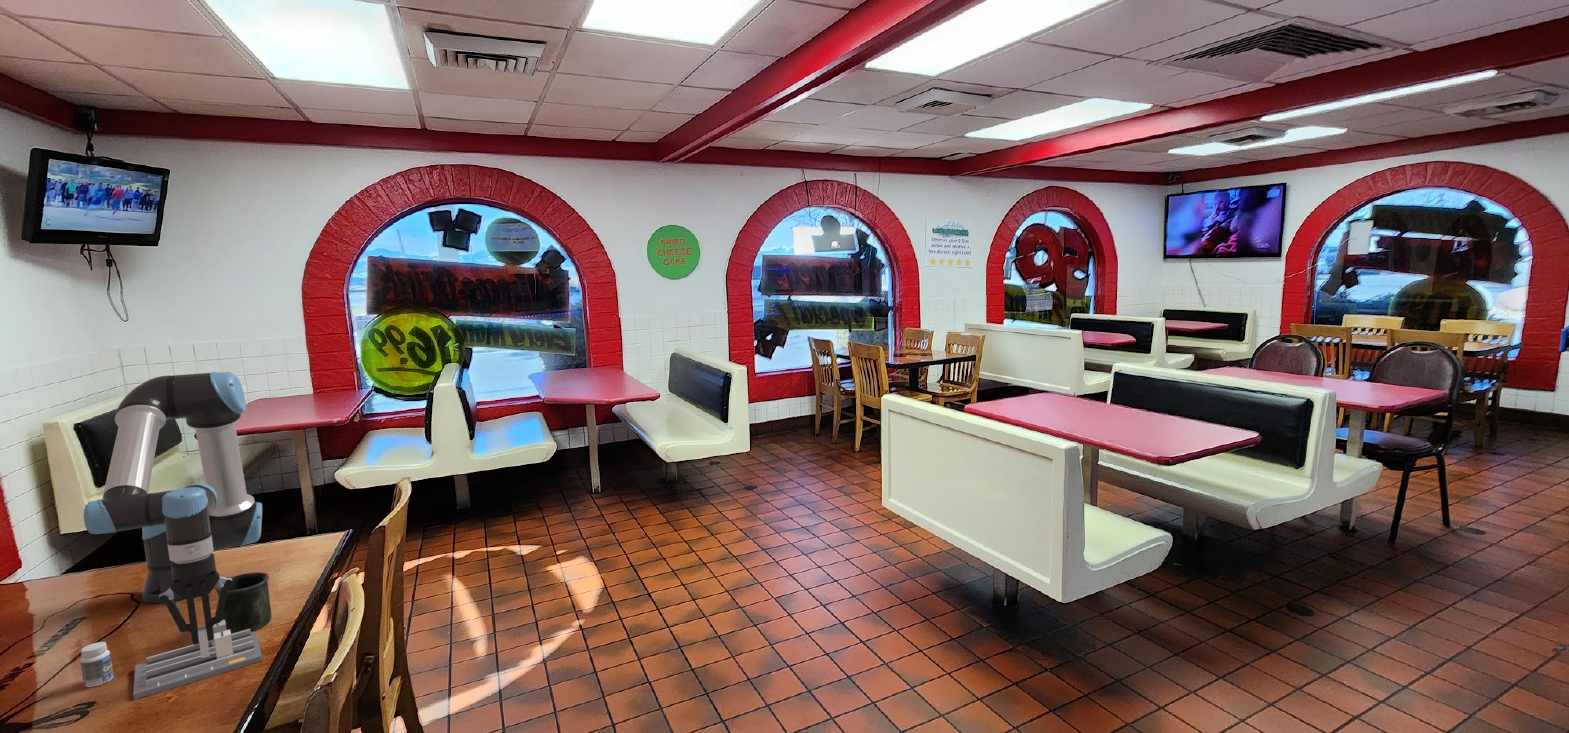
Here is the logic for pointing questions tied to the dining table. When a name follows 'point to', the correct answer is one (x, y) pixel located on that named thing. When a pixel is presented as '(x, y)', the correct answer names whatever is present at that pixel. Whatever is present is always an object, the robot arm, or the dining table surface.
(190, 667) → the console
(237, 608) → the mug
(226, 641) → the fader cap
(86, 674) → the pill bottle
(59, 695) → the dining table surface
